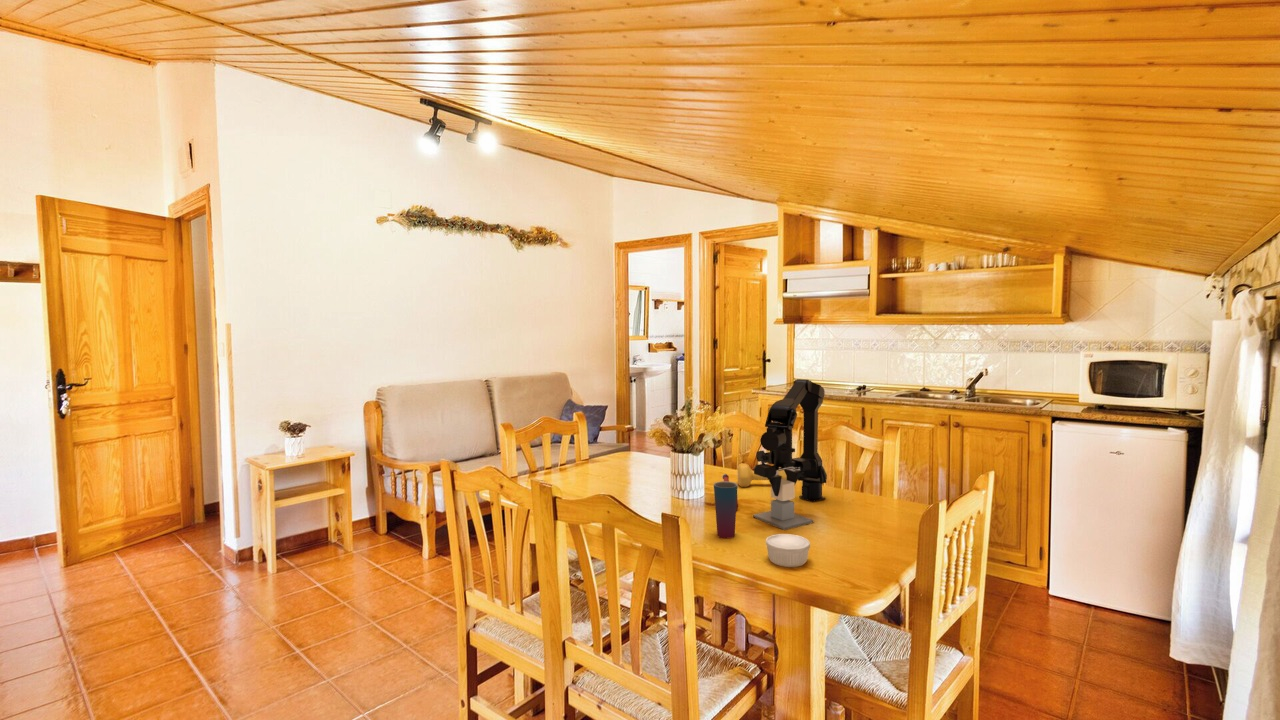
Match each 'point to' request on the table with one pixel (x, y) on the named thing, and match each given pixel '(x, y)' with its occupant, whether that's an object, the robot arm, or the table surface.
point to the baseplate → (785, 524)
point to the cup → (725, 508)
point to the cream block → (785, 491)
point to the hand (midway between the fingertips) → (782, 494)
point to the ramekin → (787, 550)
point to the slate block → (782, 509)
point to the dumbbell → (751, 475)
